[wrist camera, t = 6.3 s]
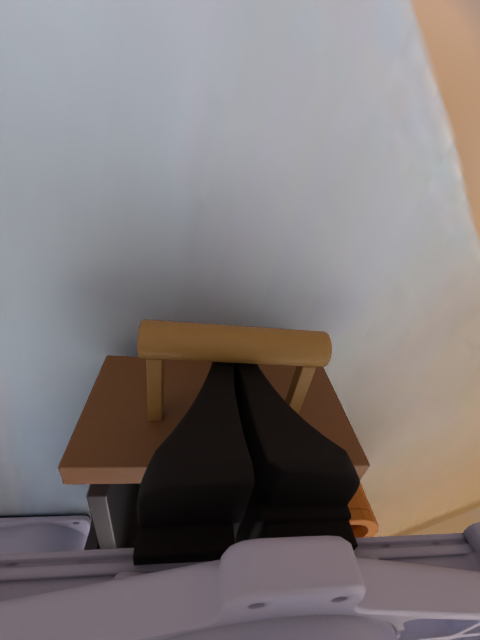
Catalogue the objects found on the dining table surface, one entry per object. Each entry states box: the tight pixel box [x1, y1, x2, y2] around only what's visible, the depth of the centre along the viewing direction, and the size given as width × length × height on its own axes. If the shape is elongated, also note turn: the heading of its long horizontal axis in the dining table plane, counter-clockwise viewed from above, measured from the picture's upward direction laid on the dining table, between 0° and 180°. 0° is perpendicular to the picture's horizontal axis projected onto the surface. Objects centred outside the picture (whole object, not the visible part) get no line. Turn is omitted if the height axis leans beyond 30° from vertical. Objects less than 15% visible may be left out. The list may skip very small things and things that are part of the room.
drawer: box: [58, 319, 370, 549], centre depth 16 cm, size 17×12×6 cm
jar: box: [348, 483, 378, 538], centre depth 24 cm, size 5×5×5 cm
